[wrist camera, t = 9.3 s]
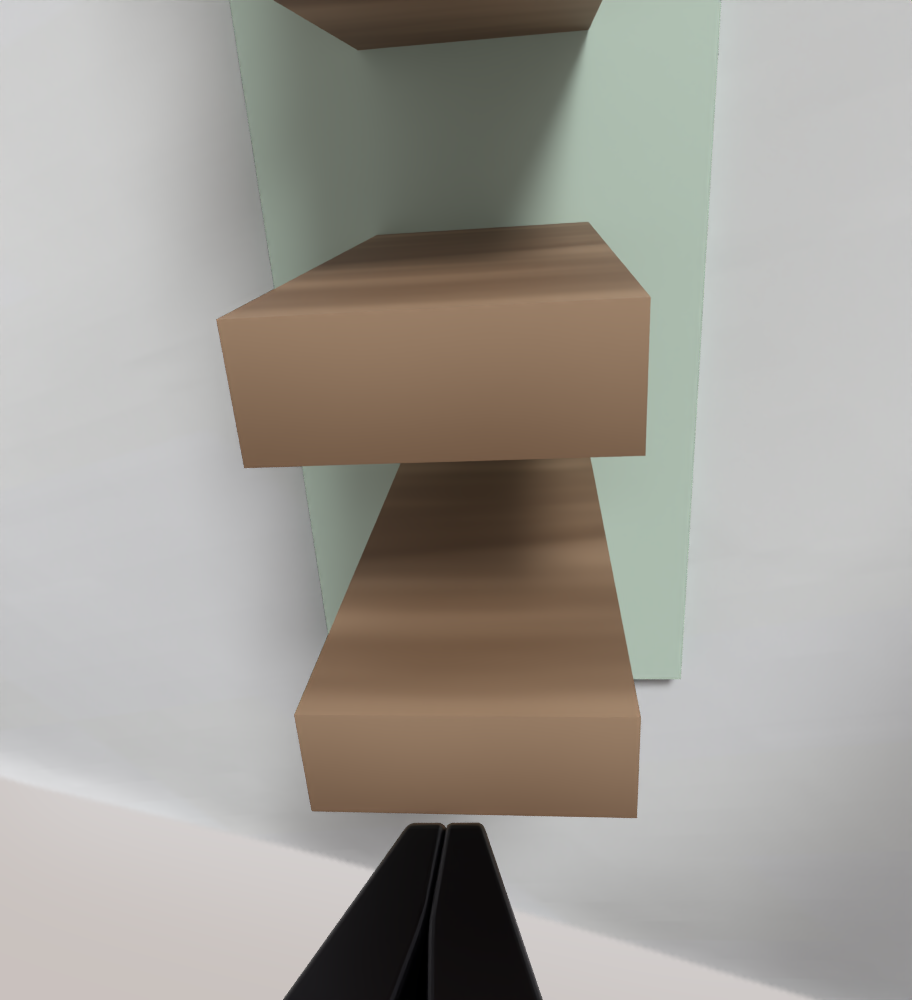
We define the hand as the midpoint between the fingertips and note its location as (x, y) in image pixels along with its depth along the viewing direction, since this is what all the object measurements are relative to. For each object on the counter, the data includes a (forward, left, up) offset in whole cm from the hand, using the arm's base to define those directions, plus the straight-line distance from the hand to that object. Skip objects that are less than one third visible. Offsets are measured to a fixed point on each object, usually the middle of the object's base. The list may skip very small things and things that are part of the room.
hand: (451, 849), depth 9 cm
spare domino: (0, +1, -12) cm, 12 cm away
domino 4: (0, -5, -12) cm, 13 cm away
